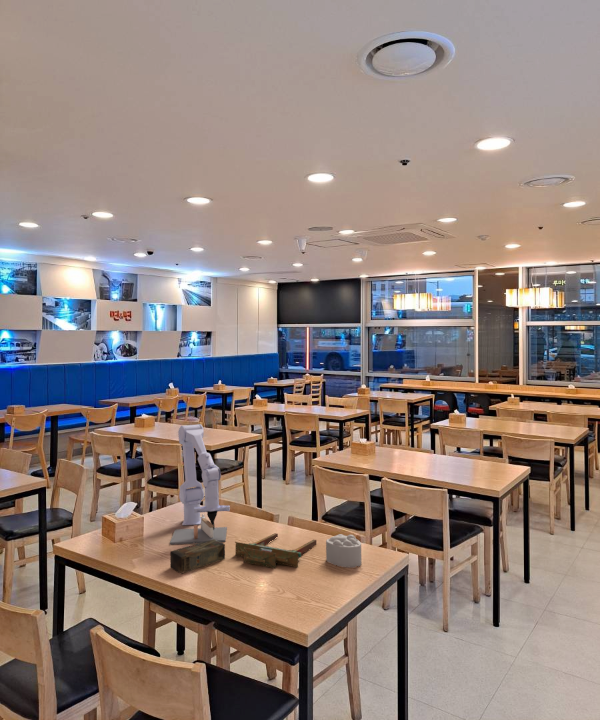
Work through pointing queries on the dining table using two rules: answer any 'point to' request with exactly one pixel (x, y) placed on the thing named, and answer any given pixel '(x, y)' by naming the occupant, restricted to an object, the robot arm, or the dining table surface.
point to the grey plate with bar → (197, 535)
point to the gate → (207, 527)
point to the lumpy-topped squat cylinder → (343, 551)
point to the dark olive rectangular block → (197, 555)
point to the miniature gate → (270, 553)
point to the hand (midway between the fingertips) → (212, 529)
